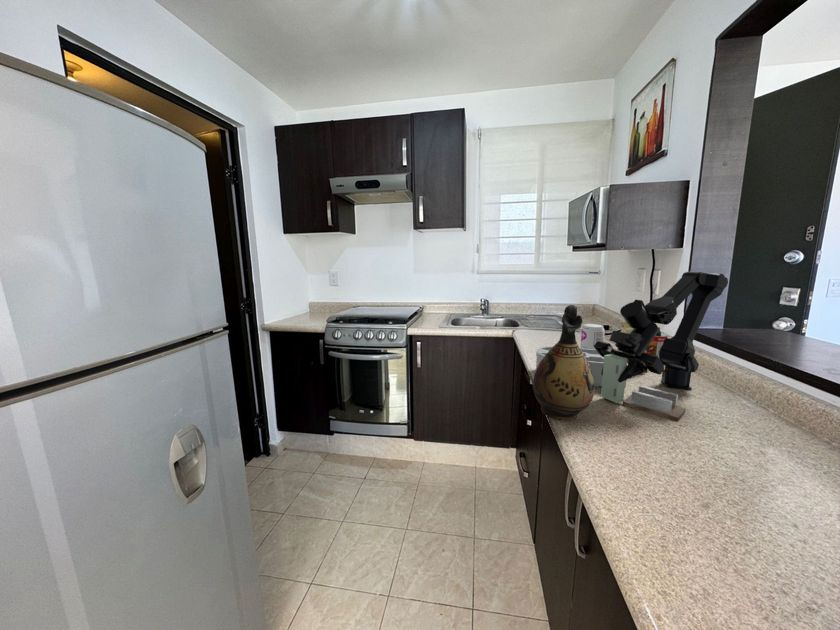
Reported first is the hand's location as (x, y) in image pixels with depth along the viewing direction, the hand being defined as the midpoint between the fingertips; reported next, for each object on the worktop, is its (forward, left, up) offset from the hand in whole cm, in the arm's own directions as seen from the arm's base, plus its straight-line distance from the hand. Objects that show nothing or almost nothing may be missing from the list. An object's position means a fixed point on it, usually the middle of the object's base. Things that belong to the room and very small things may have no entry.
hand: (610, 378), depth 95 cm
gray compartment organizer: (+6, -20, -8) cm, 22 cm away
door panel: (-1, -1, -7) cm, 7 cm away
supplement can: (-2, -41, -7) cm, 42 cm away
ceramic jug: (+14, +11, -7) cm, 19 cm away
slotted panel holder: (-11, +1, -7) cm, 13 cm away
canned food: (-25, -45, -7) cm, 52 cm away
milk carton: (-14, -34, -7) cm, 37 cm away
